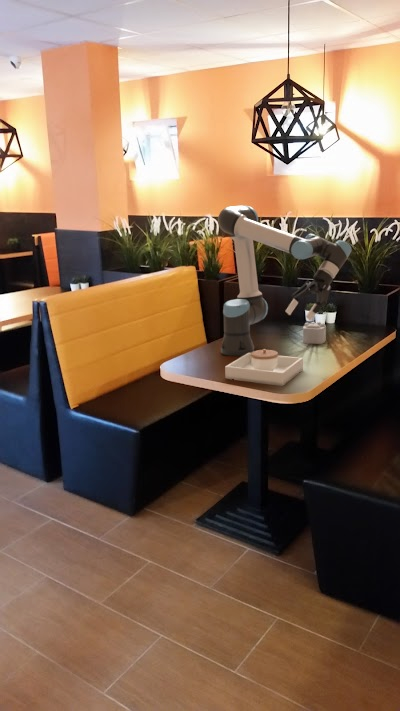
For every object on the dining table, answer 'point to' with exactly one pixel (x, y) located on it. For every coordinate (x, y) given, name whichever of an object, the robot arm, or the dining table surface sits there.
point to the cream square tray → (278, 376)
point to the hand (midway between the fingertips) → (297, 315)
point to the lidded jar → (264, 359)
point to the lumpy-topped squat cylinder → (314, 333)
